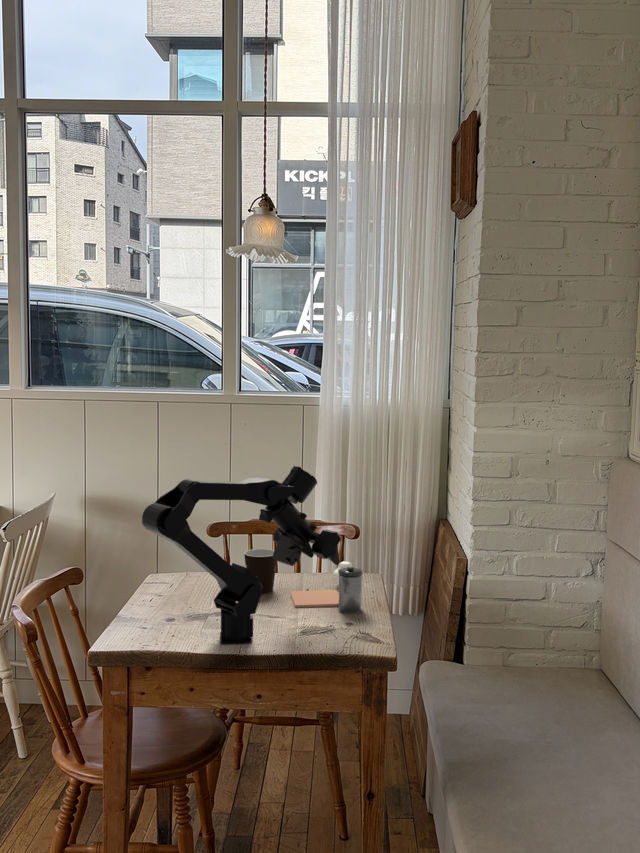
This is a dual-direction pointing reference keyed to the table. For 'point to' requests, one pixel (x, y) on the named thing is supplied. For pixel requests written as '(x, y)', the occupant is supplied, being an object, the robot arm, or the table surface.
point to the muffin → (341, 565)
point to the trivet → (315, 598)
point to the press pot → (350, 590)
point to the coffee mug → (262, 567)
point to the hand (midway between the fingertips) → (325, 560)
